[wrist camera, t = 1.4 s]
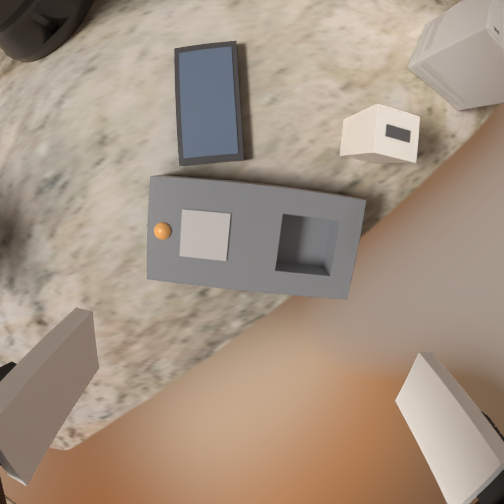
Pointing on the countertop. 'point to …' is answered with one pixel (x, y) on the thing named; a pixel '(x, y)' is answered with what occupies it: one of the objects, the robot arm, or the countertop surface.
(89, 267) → the countertop surface
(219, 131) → the phone
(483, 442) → the robot arm
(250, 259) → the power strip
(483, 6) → the supplement box
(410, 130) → the block
